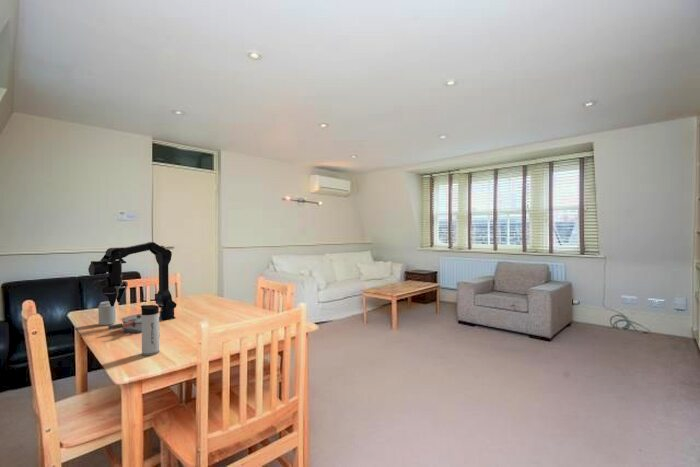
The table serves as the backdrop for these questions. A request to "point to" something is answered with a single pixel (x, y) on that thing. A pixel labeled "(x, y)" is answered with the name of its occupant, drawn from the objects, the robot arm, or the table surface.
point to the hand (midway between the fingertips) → (115, 304)
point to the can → (106, 313)
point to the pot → (129, 330)
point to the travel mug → (150, 330)
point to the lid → (131, 320)
